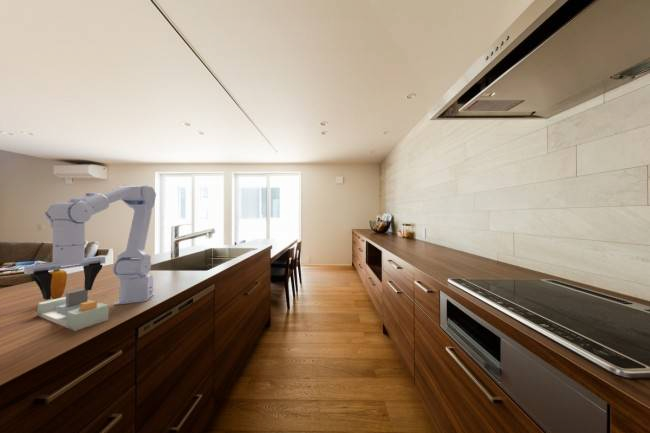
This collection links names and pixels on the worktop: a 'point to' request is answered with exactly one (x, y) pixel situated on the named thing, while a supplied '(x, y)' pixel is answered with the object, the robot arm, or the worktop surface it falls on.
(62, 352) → the worktop surface
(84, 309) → the orange small block
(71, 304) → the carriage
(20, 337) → the worktop surface
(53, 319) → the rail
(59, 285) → the carrot
